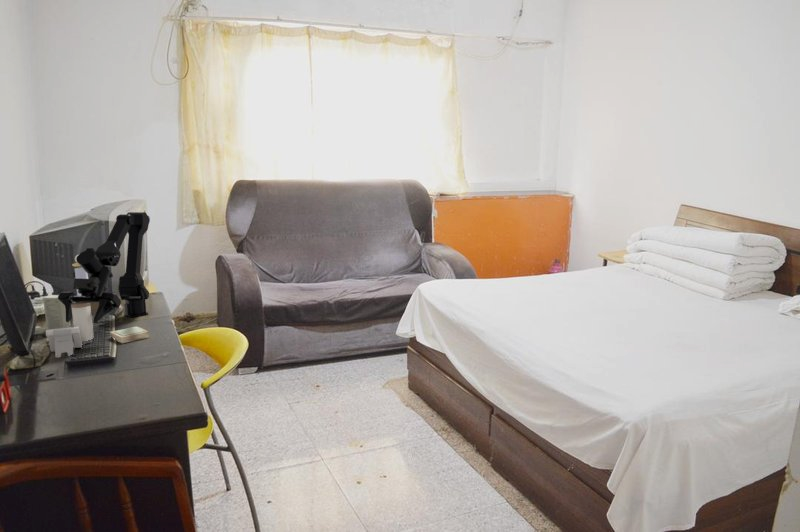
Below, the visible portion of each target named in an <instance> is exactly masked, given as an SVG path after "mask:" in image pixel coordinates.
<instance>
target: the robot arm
mask: <svg viewBox="0 0 800 532" xmlns="http://www.w3.org/2000/svg"><path fill="white" fill-rule="evenodd" d="M150 219H151V218H150V216H149V215H148V214H147V213H146V212H144V211H143V212H142V211H140V212H139V211H135V212H134V211H133V212H131V211H130V212H127V213H126V214H119V215H117V216H116V218H115V223H114V225H113V227H112V228H111V231H110V233H109V235H108V237H107V239H106V240H105V242H104V243H103V244H101V245H99V246H98V247H97V249H96V250H95V248H93V247H92V248H91V247H87V248H86V249H85V250H84V251H82V252H80V253H79V254H77V255H78V256H77V259H76V260H77V262H78V263H79V265H80V266H79V267H80V268H83V269H84V270H85V272H86V273H88V279H76V278H73V283H72V289H73V290H74V289H75V290H77V289H78V292H79V294H82V295H81V296H77V294H76V293H74V292H73V291H60V292H59V294H58V295H59V296H58V299H59V300H60V301H61V302H62V303H63V304H64V305H65V309H66V322H69V321H70V322H71V320H72V319H73V316H72V307H71V304H72V303H75V302H80V301H89V302H90V303H98V307H97V310H96V312H95V315H94V317H93V323H94V324H97V323H98V322H99V321H100V320H101V319H102V318H103V317H104V316H106V315H107V314H108V313H110V312H111V311H113V310H115V309H117V308H118V309H119V308H120V307H121V303H122V301H124V302H125V303H124V304H123V305H124V315H125V316H128V317H130V318H135V317H141V316H146V315H149V312H147V305H146V304H147V303H146V300H148V299H149V297H150V292H149V290H148V289H147V288H146V286H145V280H144V278H143V276H142V275H141V263H142V250H143V239H144V237H143V236H144V235H145V234H146V233H147V231H148V230H149V225H150V222H151V221H150ZM127 235H128V240H127V251H126V253H127V254H126V264H125V265H126V266H125V273H123V275H121V276H119V281H118V282H119V283H118V286H117V287H118V294H119V296H120V298H119V297H118V295H117V294H116V293H115V292H113V291H112V292H111V291H110V292H108V291H107V287H106V286H107V282H108V280H109V278H113V277H114V275H113V272H112V270H111V269H109V267H116V266H118V264H119V263H120V259H121V256H122V254H121V250H120V249H121V246H122V244H123V243H124V240H125V238H126V236H127ZM77 262H76V263H77ZM106 291H107V292H106Z"/></svg>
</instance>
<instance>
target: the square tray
mask: <svg viewBox="0 0 800 532" xmlns="http://www.w3.org/2000/svg"><path fill="white" fill-rule="evenodd" d="M109 334H111V335H112V336H113V337H114V338H115V340H114V341H116V342H119V343H120V344H125V343H129V342H134V341H138V340H143V339H147V338H148V339H149V338H150V331H148V330H146V329H145V328H142V327H139V326H132V327H127V328H124V329H123V328H122V329H118V330H114V331H113V330H112V331H110V332H109Z"/></svg>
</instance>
